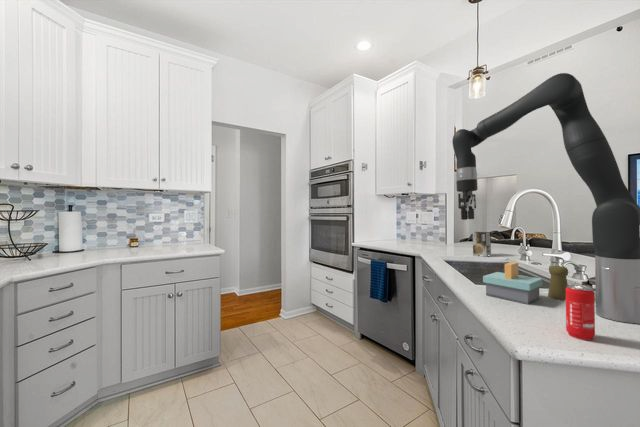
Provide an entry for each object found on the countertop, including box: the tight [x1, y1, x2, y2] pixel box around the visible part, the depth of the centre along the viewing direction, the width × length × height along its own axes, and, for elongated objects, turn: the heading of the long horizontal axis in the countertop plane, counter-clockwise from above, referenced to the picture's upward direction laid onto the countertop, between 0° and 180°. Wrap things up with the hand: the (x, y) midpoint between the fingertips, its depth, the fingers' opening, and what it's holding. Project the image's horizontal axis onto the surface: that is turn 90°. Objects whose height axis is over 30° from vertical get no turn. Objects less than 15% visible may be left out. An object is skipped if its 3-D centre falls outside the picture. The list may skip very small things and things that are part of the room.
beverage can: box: [565, 284, 596, 341], centre depth 69 cm, size 5×5×12 cm
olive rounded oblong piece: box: [547, 265, 569, 301], centre depth 99 cm, size 6×6×11 cm
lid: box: [482, 261, 543, 291], centre depth 100 cm, size 14×11×7 cm
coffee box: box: [472, 231, 492, 257], centre depth 190 cm, size 9×6×16 cm
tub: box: [485, 283, 540, 305], centre depth 100 cm, size 13×10×6 cm
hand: (467, 219), depth 114 cm, fingers open, 8 cm apart
